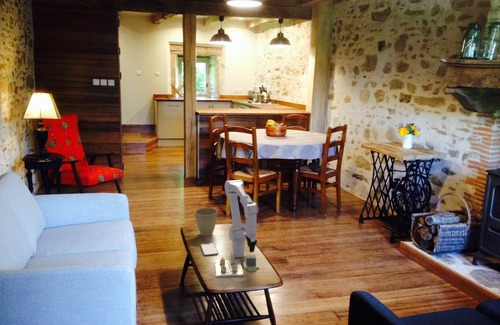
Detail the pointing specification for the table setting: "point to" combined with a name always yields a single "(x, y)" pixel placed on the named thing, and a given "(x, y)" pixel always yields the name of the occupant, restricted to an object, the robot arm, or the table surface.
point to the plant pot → (206, 220)
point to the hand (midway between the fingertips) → (250, 249)
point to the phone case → (209, 249)
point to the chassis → (228, 268)
